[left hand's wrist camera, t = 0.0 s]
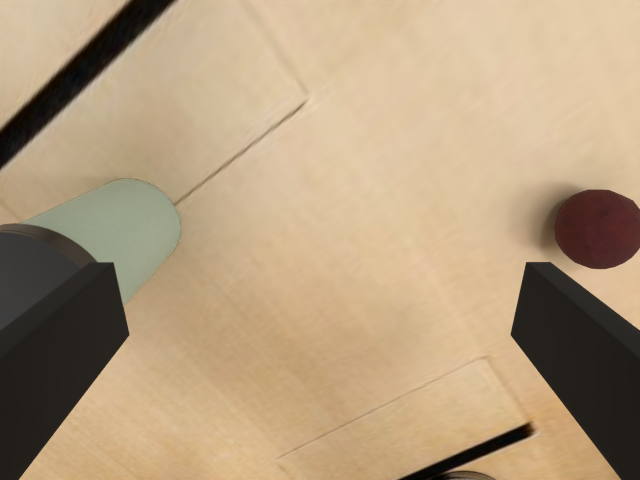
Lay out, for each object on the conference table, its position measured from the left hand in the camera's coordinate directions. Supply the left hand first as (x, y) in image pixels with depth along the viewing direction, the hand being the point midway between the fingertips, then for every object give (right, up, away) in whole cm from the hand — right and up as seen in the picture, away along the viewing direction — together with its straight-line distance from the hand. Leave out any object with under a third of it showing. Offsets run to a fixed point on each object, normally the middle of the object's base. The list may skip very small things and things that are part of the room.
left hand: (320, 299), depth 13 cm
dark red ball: (+27, +4, +28) cm, 39 cm away
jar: (-20, +4, +29) cm, 35 cm away
